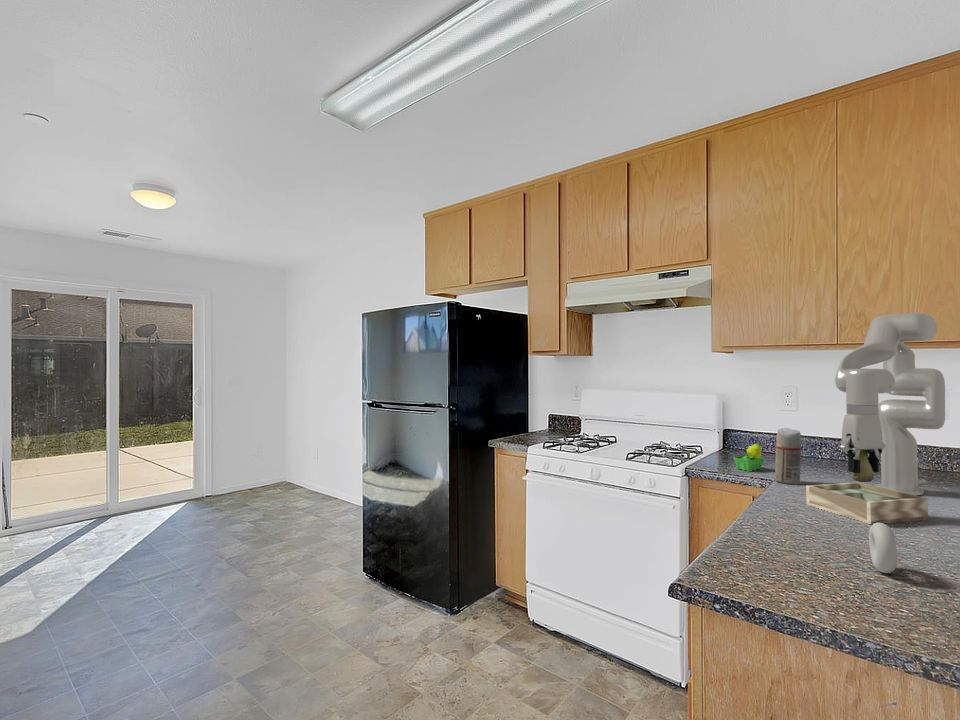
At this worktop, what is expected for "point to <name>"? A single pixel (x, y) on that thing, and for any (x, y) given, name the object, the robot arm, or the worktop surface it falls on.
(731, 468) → the worktop surface
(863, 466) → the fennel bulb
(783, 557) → the worktop surface
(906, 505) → the open wooden box
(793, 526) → the worktop surface
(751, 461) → the fruit basket
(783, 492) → the worktop surface
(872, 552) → the donut
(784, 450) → the spray can
